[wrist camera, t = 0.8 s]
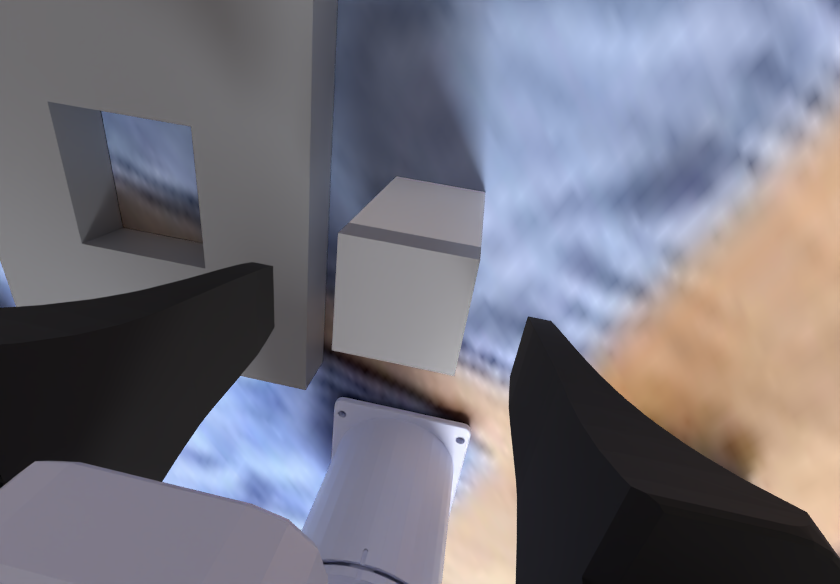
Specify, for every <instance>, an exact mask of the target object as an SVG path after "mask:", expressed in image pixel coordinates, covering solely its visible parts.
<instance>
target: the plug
mask: <svg viewBox="0 0 840 584" xmlns="http://www.w3.org/2000/svg"><path fill="white" fill-rule="evenodd" d="M484 204H485V192H482V191H477V190H471V189H465V188H460V187H454V186H448V185H443V184H437V183H431V182H426V181H420V180H414V179H409V178H403V177H398V176H396V177H395V178H394V179H393V180H392V181H391V182H390V183H389V184H388V185H387V186H386V187H385V188H384V189H383V190H382V191H381V192H380V193H379V194H378V195H377V196H376V197H375V198H374V199H373V200H371V201H370V202H369V203H368V204H367V205H366V206H365V207H364V208H363V209H362V210H361V211H360V212H359V213H358V214H357V215H356V216H355V217H354V218H353V219H352V220H351V221H350V222H349V223H348V224H347V225H346V226H345V227H344V228H343V229H342V230H341V231H340V232H339V233H338V244H337V262H336V281H335V300H334V319H333V338H332V350H333V351H338V352H343V353H347V354H352V355H357V356H362V357H366V358H371V359H376V360H381V361H385V362H390V363H395V364H400V365H404V366H409V367H414V368H419V369H423V370H428V371H433V372H438V373H442V374H447V375H452V376H454V375H455V371H456V366H457V362H458V357H459V353H460V348H461V344H462V339H463V335H464V330H465V326H466V321H467V317H468V312H469V308H470V303H471V299H472V294H473V290H474V285H475V281H476V276H477V271H478V267H479V262H480V254H481V242H482V229H483V216H484Z"/></svg>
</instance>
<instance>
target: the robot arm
mask: <svg viewBox="0 0 840 584" xmlns="http://www.w3.org/2000/svg"><path fill="white" fill-rule="evenodd" d="M274 327H275V324H274V281H273V266H270V265H265V264H260V263H255V262H250V263H243V264H239V265H235V266H231V267H227V268H223V269H219V270H216V271H212V272H209V273H205V274H202V275H198V276H195V277H191V278H187V279H184V280H180V281H176V282H172V283H168V284H164V285H160V286H156V287H152V288H148V289H144V290H139V291H134V292H129V293H124V294H119V295H113V296H107V297H101V298H95V299H88V300H80V301H71V302H63V303H54V304H45V305H35V306H21V307H5V308H0V584H442V577H443V567H444V558H445V548H446V539H447V529H448V520H449V515H450V511H451V508H452V504H453V500H454V496H455V493H456V489H457V485H458V481H459V477H460V474H461V470H462V466H463V462H464V459H465V455H466V451H467V447H468V443H469V440H470V436H471V428H470V427H469V426H468V425H467V424H464V423H460V422H456V421H451V420H446V419H442V418H437V417H433V416H428V415H424V414H419V413H415V412H410V411H405V410H401V409H396V408H392V407H387V406H383V405H378V404H373V403H369V402H364V401H360V400H355V399H351V398H346V397H340V398H338V399H337V401H336V403H335V407H334V423H333V440H332V456H331V464H330V466H329V468H328V471H327V473H326V475H325V477H324V480H323V482H322V484H321V487H320V489H319V491H318V494H317V496H316V498H315V501H314V503H313V505H312V508H311V510H310V512H309V515H308V517H307V519H306V522H305V524H304V526H303V529H302V531H301V530H300V529H298V528H297V527H296V526H295V525H294V524H293V523H292V522H291V521H290V520H289V519H286V518H284V517H282V516H279V515H277V514H274V513H272V512H270V511H267V510H265V509H263V508H260V507H258V506H255V505H253V504H250V503H246V502H242V501H238V500H234V499H230V498H225V497H221V496H217V495H213V494H209V493H205V492H201V491H197V490H193V489H188V488H184V487H180V486H176V485H172V484H168V483H164V482H162V481H163V479H164V478H165V476H166V475H167V473H168V471H169V470H170V468H171V467H172V465H173V464H174V462H175V460H176V459H177V457H178V456H179V454H180V453H181V451H182V450H183V448H184V447H185V445H186V444H187V442H188V441H189V440H190V438H191V437H192V435H193V434H194V432H195V431H196V429H197V428H198V426H199V425H200V424H201V422H202V421H203V420H204V418H205V417H206V416H207V415H208V413H209V412H210V411H211V410H212V408H213V407H214V406H215V405H216V404H217V403H218V401H219V400H220V399H221V398H222V397H223V396H224V394H225V393H226V392H227V391H228V390H229V388H230V387H231V386H232V385H233V384H234V383H235V381H236V380H237V379H238V378H239V377H240V376H241V374H242V373H243V372H244V371H245V370H246V368H247V367H248V366H249V365H250V364H251V362H252V361H253V360H254V359H255V358H256V356H257V355H258V354H259V352H260V351H261V349H262V347H263V346H264V344H265V343H266V341H267V339H268V338H269V336H270V334H271V333H272V331H273V329H274ZM341 411H344V412H345V413H343V412H341ZM509 416H510V426H511V436H512V446H513V456H514V465H515V475H516V488H517V554H516V584H840V558H839V556H838V555H837V554H836V552H835V551H834V549H833V548H832V547H831V545H830V544H829V542H828V541H827V540H826V538H825V537H824V535H823V534H822V533H821V531H820V530H819V528H818V527H817V526H816V524H815V523H814V521H813V520H812V519H811V517H810V516H809V514H808V513H807V512H805V511H803V510H801V509H800V508H798V507H796V506H794V505H792V504H790V503H788V502H786V501H784V500H782V499H780V498H778V497H776V496H775V495H773V494H771V493H769V492H767V491H765V490H763V489H761V488H759V487H757V486H755V485H753V484H751V483H750V482H748V481H746V480H744V479H742V478H740V477H739V476H737V475H735V474H733V473H732V472H730V471H728V470H727V469H725V468H723V467H722V466H720V465H718V464H717V463H715V462H713V461H711V460H710V459H708V458H706V457H705V456H703V455H702V454H700V453H699V452H697V451H695V450H694V449H692V448H691V447H689V446H688V445H686V444H685V443H683V442H682V441H680V440H679V439H677V438H676V437H675V436H673V435H672V434H670V433H669V432H667V431H666V430H665V429H663V428H662V427H660V426H659V425H658V424H656V423H655V422H654V421H652V420H651V419H650V418H648V417H647V416H646V415H644V414H643V413H642V412H641V411H640V410H638V409H637V408H636V407H635V406H634V405H632V404H631V403H630V402H629V401H627V400H626V399H625V398H624V397H623V396H622V395H621V394H619V393H618V392H617V391H616V390H615V389H614V388H613V387H612V386H611V385H610V384H609V383H608V382H607V381H606V380H605V379H604V378H603V377H602V376H600V375H599V374H598V373H597V371H596V370H595V369H594V368H593V367H592V366H591V365H590V364H589V363H588V362H587V361H586V360H585V359H584V358H583V357H582V355H581V354H580V353H579V352H578V351H577V350H576V349H575V348H574V346H573V345H572V344H571V343H570V342H569V341H568V340H567V338H566V337H565V336H564V335H563V334H562V333H561V331H560V330H559V329H558V328H557V327H556V326H555V325H554V324H553V323H552V322H551V321H548V320H543V319H538V318H533V317H528V318H527V321H526V325H525V328H524V331H523V335H522V338H521V342H520V345H519V348H518V352H517V355H516V358H515V362H514V365H513V368H512V372H511V375H510V388H509ZM458 437H462V438H463V439H459V438H458Z"/></svg>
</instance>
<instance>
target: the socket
mask: <svg viewBox="0 0 840 584" xmlns="http://www.w3.org/2000/svg"><path fill="white" fill-rule="evenodd" d="M337 10H338V0H0V261H1V264H2V267H3V270H4V273H5V276H6V278H7V281H8V284H9V287H10V290H11V293H12V296H13V299H14V302H15V305H16V307H21V306H35V305H45V304H54V303H63V302H71V301H80V300H88V299H95V298H101V297H107V296H113V295H119V294H124V293H129V292H134V291H139V290H144V289H148V288H152V287H156V286H160V285H164V284H168V283H172V282H176V281H180V280H184V279H187V278H191V277H195V276H198V275H202V274H205V273H209V272H212V271H216V270H219V269H223V268H227V267H231V266H235V265H239V264H243V263H250V262H255V263H260V264H265V265H270V266H273V281H274V324H275V327H274V329H273V331H272V333H271V334H270V336H269V338H268V339H267V341H266V343H265V344H264V346H263V347H262V349H261V351H260V352H259V354H258V355H257V356H256V358H255V359H254V360H253V361H252V362H251V364H250V365H249V366H248V367H247V368H246V370H245V371H244V372H243V373H242V374H241V376H244V377H248V378H253V379H258V380H262V381H267V382H271V383H276V384H280V385H285V386H289V387H294V388H299V389H303V390H306V388H307V387H308V385H309V384H310V382H311V380H312V379H313V377H314V375H315V374H316V372H317V371H318V369H319V367H320V366H321V364H322V362H323V346H324V322H325V298H326V274H327V250H328V226H329V202H330V178H331V154H332V130H333V106H334V82H335V58H336V34H337ZM101 111H105V112H111V113H116V114H122V115H128V116H134V117H139V118H145V119H151V120H156V121H162V122H168V123H174V124H179V125H185V126H191V132H192V141H193V151H194V161H195V171H196V181H197V190H198V200H199V210H200V220H201V229H202V239H203V243H198V242H193V241H188V240H183V239H178V238H173V237H168V236H163V235H158V234H153V233H147V232H142V231H137V230H132V229H127V228H123V226H122V221H121V216H120V211H119V205H118V200H117V195H116V190H115V184H114V179H113V174H112V169H111V164H110V158H109V153H108V148H107V143H106V137H105V132H104V127H103V122H102V117H101Z"/></svg>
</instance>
